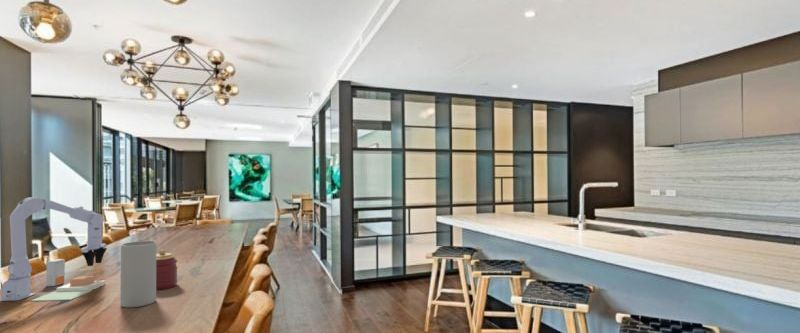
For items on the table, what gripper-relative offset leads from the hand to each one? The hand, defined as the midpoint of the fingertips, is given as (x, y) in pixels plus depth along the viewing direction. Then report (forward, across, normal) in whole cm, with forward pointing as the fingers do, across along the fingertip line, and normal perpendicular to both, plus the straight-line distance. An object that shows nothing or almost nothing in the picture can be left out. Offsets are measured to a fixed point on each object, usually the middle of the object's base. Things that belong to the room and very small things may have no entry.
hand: (94, 264), depth 202 cm
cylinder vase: (+10, -36, -40) cm, 55 cm away
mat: (+9, -22, 0) cm, 23 cm away
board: (+9, -9, 0) cm, 13 cm away
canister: (+10, -10, -37) cm, 40 cm away
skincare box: (+10, 0, +18) cm, 20 cm away
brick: (+7, -8, 0) cm, 11 cm away
